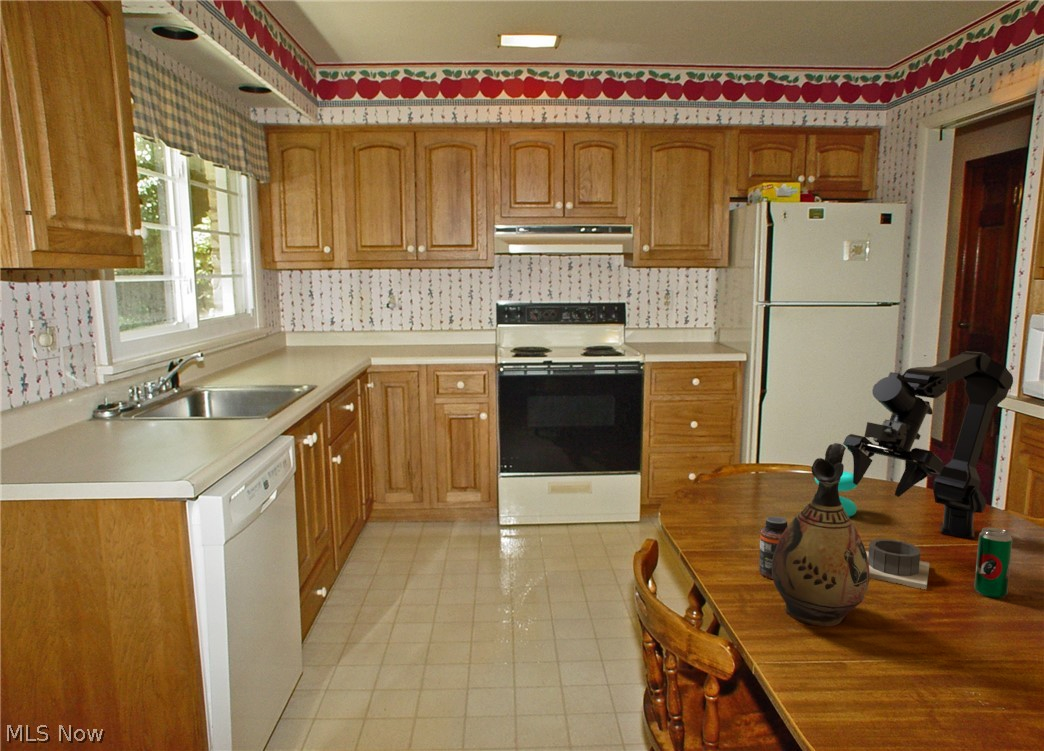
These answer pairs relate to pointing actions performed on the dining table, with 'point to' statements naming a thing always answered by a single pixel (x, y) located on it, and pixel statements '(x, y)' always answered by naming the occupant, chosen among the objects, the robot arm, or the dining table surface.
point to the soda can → (993, 562)
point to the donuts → (846, 485)
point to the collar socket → (897, 563)
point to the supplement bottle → (770, 543)
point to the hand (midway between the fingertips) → (875, 489)
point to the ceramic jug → (822, 553)
